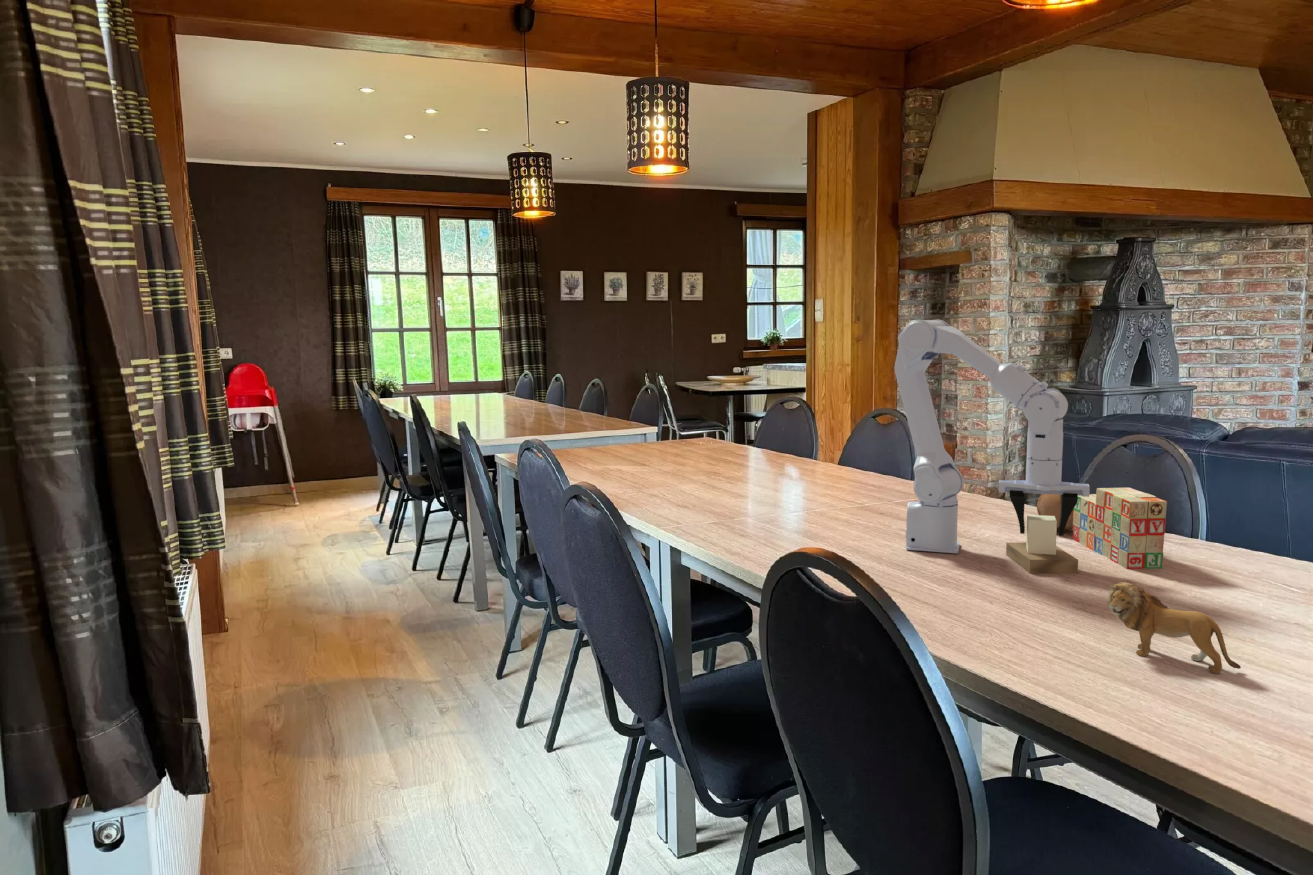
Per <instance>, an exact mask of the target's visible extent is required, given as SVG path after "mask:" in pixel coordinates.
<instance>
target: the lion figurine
mask: <svg viewBox="0 0 1313 875" xmlns="http://www.w3.org/2000/svg"><path fill="white" fill-rule="evenodd" d="M1109 590H1110V591H1109V595H1108V600H1107V605H1108V608H1109V610H1110V613H1112V614H1113V615H1114V616H1115V617H1116V618H1117V619H1119V620H1121V621H1122V622H1123V623H1124V626H1125V627H1126V628H1127V629H1130V630H1132V631H1136V632H1138V633H1139V640H1140V642H1141V643H1138V644H1137V648H1138V649H1136V651H1135V654H1136V655H1137V656H1139V657H1147V656H1148V655H1150V652H1151V644H1152V637H1153V636H1154V634H1157V635H1159V636H1160V635H1161V636H1165V637H1167V638H1172V639H1175V638H1176V639H1177V638H1185V637H1187V636H1190V638H1191V640H1192V642H1193V643H1194V644H1195V646H1197V648H1198V649H1199V650H1200V651H1199V653H1198V654H1195V653H1194V654H1192V655H1191V659H1192V660H1194V661H1196V662H1201V661H1204V660H1205V659H1206V658H1209V659H1210V660H1211V661H1212V662H1213V665H1209V666H1208V667H1207V670H1208V672H1210V673H1212V674H1220V673H1221V672H1222V670H1223V663H1222V657H1221V654H1220V653H1219V652H1218V651H1217V650H1216V649H1215V647H1214V645H1213V643H1212V636H1213V634H1214V633H1215V636H1216V640H1217V642H1218V646H1219V649H1220V651H1221V653H1222V656H1223V658H1224V660H1225V662H1226V663H1227V664H1228V665H1229V666H1230V667H1232V668H1233V669H1238V670H1240V669H1241V668H1242V667H1241V665H1240V664H1238V663H1237V662H1235V661H1234V660H1232V659H1231V658H1230V657H1229V655H1228V652H1227V651H1228V650H1227V647H1226V644H1225V640H1224V639H1225V638H1224V636H1223V632H1222V631H1221V628H1220V626H1219V624H1218V623H1217V622H1216V621H1215V620H1214V619H1213V618H1212V617H1210V616H1209V615H1207V614H1205V613H1204V612H1201V611H1196V610H1195V611H1193V610H1192V611H1190V610H1179V609H1174V608H1169V607H1168V606H1167V605H1165V604H1163V602H1162V601H1161V600H1160V599H1159V598H1158V597H1157V596H1155V595H1153V594H1151V593H1149V592H1147V591H1145V590H1144V588H1142V587H1139V586H1138V585H1136V584H1133V583H1130V582H1123V581H1122V582H1119V583H1115V584H1113V585H1110V588H1109Z"/></svg>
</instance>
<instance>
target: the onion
mask: <svg viewBox="0 0 1313 875" xmlns="http://www.w3.org/2000/svg"><path fill="white" fill-rule="evenodd" d="M1050 491H1055V490H1050ZM1036 511H1037V515H1042V516H1055V518H1056V521H1057V531H1059V520H1060V495H1058V494H1040V496H1039V497H1038V500H1037V502H1036ZM1073 512H1074V510H1072V512H1071V514H1070V516H1069V519H1068V521H1067V524H1066V527H1065V530H1064V531H1070V530H1073Z"/></svg>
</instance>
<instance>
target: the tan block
mask: <svg viewBox="0 0 1313 875" xmlns="http://www.w3.org/2000/svg"><path fill="white" fill-rule="evenodd" d="M1005 545H1006V547H1005V549H1006V550H1005V551H1006V552H1005V556H1006V557H1007V558H1009V559H1010V560H1011V561H1013V562H1014V563H1015V564H1017V565H1018V566H1019V565H1020V566H1019V567H1021V568H1022V569H1024V571H1026V572H1027V573H1028V574H1032V575H1033V574H1034V575H1035V574H1036V575H1037V574H1038V575H1039V574H1040V575H1041V574H1048V575H1049V574H1053V575H1055V574H1059V575H1061V574H1063V575H1064V574H1065V575H1067V574H1068V575H1069V574H1076V575H1077V574H1079V572H1078V571H1079V559H1078V558H1076V557H1075V556H1074V555H1071V554H1069V552H1066V551H1065V550H1064V549H1062V548H1060V547H1059V546H1058V545H1056V555H1050V554H1032V553H1028V552H1027V548H1026V542H1006V544H1005Z"/></svg>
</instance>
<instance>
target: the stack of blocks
mask: <svg viewBox="0 0 1313 875" xmlns="http://www.w3.org/2000/svg"><path fill="white" fill-rule="evenodd" d="M1167 505H1168V501H1166V500H1164V499H1162V498H1159V497H1157V496H1155V495H1153V494H1150V493H1147V492H1143V491H1140V490H1137V489H1134V488H1132V487H1097V488H1096V492H1095V493H1089V497H1084V496H1079V495H1078V502H1077V504H1076V506H1075V507H1074V509H1073V510H1074V512H1073V529H1072V539H1073V541H1075V542H1077V543H1078V544H1079V543H1080V544H1081V543H1082V544H1083V545H1082V544H1081V545H1082V546H1084V545H1085V546H1084V547H1086V546H1087V547H1086V548H1088V547H1089V548H1088V549H1090V550H1091V549H1092V550H1091V551H1093V550H1094V552H1095V553H1097V552H1098V553H1097V554H1099V553H1100V554H1099V555H1101V556H1103V557H1105V556H1106V557H1107V559H1108V560H1110V561H1112V562H1113V561H1114V562H1113V563H1115V564H1117V565H1119V566H1120V565H1121V566H1120V567H1122V568H1124V569H1126V570H1127V569H1128V570H1139V569H1141V570H1144V569H1145V570H1146V569H1147V570H1148V569H1150V570H1151V569H1153V570H1154V569H1156V568H1157V570H1158V569H1163V565H1164V564H1163V562H1164V543H1165V535H1166V521H1167V520H1166V519H1167V518H1166V516H1167V507H1168V506H1167ZM1106 557H1105V558H1106Z"/></svg>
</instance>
